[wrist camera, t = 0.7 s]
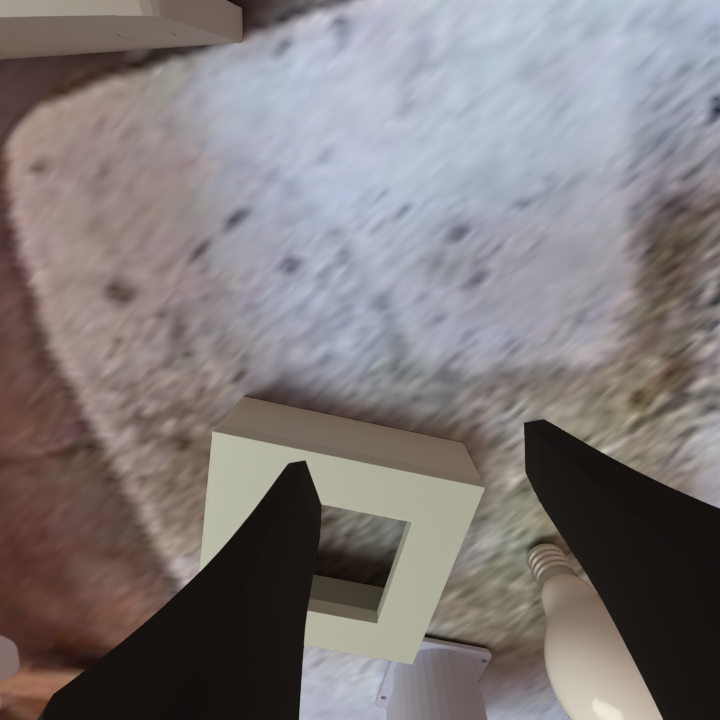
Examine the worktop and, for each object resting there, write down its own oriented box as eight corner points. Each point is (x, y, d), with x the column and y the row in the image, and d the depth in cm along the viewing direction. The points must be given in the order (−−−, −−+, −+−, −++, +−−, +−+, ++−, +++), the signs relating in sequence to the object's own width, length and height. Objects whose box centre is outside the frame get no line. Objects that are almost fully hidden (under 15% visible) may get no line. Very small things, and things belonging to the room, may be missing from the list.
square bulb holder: (405, 599, 27) (412, 664, 23) (222, 564, 26) (194, 625, 22) (463, 442, 22) (485, 487, 18) (243, 396, 22) (212, 431, 18)
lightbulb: (583, 575, 26) (730, 796, 15) (500, 586, 26) (587, 805, 16) (583, 510, 24) (750, 711, 13) (494, 522, 24) (587, 724, 14)
